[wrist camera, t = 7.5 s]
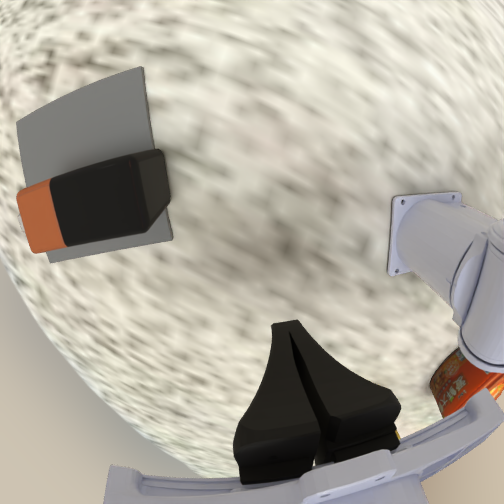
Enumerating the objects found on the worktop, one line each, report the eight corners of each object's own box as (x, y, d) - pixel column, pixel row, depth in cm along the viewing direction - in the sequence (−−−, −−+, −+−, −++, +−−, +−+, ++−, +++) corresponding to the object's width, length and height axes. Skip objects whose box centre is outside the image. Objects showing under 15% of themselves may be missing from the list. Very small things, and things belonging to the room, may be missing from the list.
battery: (150, 235, 14) (22, 258, 13) (173, 203, 20) (67, 225, 19) (133, 152, 12) (4, 196, 11) (163, 146, 18) (55, 176, 18)
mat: (143, 67, 16) (141, 66, 15) (173, 237, 22) (172, 240, 21) (20, 121, 15) (16, 122, 15) (53, 260, 21) (50, 263, 21)
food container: (406, 398, 37) (430, 443, 27) (460, 328, 31) (498, 372, 21) (451, 390, 40) (473, 424, 31) (495, 331, 34) (525, 364, 25)
